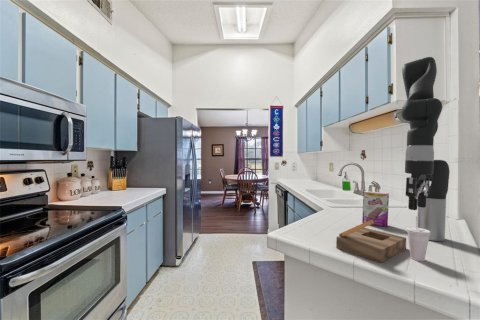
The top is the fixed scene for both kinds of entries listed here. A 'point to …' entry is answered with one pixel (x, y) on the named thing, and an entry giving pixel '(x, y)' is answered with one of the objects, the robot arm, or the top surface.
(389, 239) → the socket block
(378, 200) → the candy bar box
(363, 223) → the bar
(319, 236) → the top surface
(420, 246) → the smoothie
